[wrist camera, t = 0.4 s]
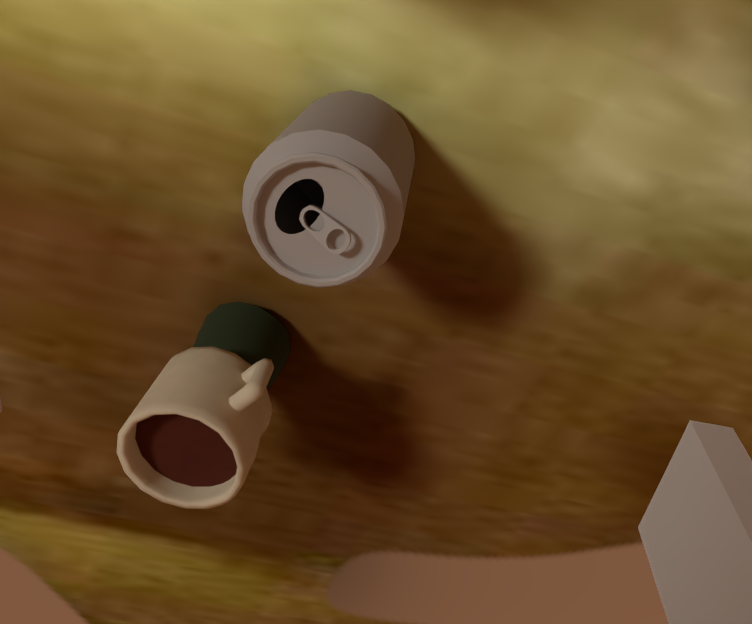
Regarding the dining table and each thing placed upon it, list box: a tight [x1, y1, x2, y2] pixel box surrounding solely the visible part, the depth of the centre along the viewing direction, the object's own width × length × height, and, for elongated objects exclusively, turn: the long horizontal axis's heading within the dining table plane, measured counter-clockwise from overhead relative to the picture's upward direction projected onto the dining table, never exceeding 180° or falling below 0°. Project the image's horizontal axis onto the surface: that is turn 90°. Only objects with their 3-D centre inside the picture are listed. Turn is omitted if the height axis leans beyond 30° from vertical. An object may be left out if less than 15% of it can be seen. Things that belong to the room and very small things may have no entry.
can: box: [242, 91, 415, 288], centre depth 33 cm, size 8×8×12 cm
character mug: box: [117, 302, 291, 509], centre depth 40 cm, size 11×7×13 cm, turn 132°
